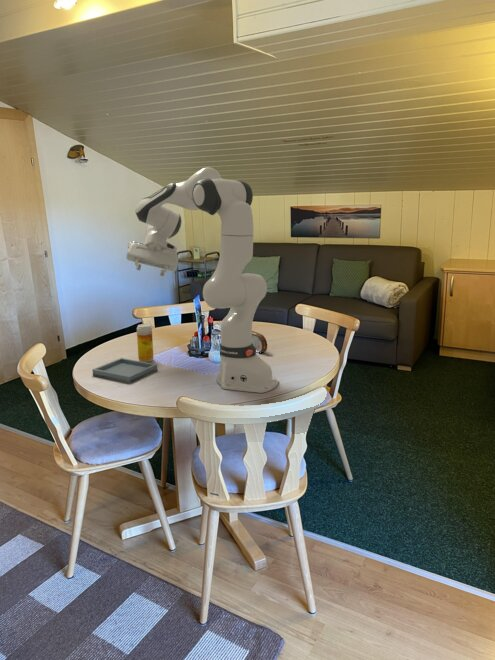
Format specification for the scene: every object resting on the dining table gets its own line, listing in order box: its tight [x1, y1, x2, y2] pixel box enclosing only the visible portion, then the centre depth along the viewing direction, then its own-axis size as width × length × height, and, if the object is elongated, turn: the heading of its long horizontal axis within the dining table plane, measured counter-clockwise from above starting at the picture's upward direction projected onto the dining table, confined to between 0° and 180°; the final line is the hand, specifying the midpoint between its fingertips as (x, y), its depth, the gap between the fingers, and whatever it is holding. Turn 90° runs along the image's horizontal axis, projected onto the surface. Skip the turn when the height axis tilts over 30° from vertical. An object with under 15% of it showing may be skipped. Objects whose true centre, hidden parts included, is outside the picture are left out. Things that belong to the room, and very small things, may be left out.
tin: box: [251, 330, 268, 353], centre depth 212 cm, size 15×3×8 cm, turn 34°
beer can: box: [136, 323, 154, 363], centre depth 198 cm, size 6×6×15 cm
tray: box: [92, 357, 158, 384], centre depth 185 cm, size 18×16×2 cm
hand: (150, 272), depth 189 cm, fingers open, 8 cm apart
